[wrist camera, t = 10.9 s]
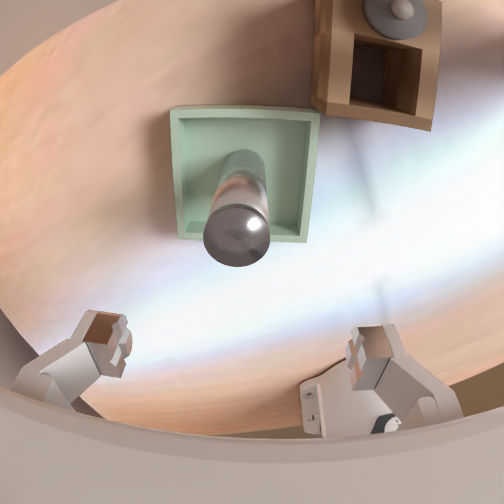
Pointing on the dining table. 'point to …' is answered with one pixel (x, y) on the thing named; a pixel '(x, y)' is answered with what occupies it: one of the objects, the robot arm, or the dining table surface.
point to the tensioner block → (396, 64)
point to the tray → (250, 138)
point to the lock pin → (239, 212)
